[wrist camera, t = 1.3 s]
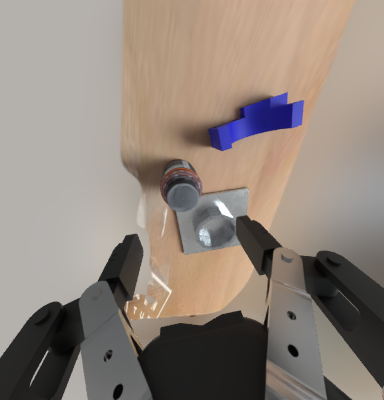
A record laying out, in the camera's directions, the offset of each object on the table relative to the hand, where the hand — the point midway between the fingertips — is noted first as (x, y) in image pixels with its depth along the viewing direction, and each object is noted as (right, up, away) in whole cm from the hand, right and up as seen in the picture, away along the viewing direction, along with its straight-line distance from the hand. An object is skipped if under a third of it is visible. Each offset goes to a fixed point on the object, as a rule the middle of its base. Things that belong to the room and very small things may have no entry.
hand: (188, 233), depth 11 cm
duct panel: (+5, -3, +22) cm, 23 cm away
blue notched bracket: (+9, +16, +13) cm, 23 cm away
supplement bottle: (-2, +8, +16) cm, 18 cm away
